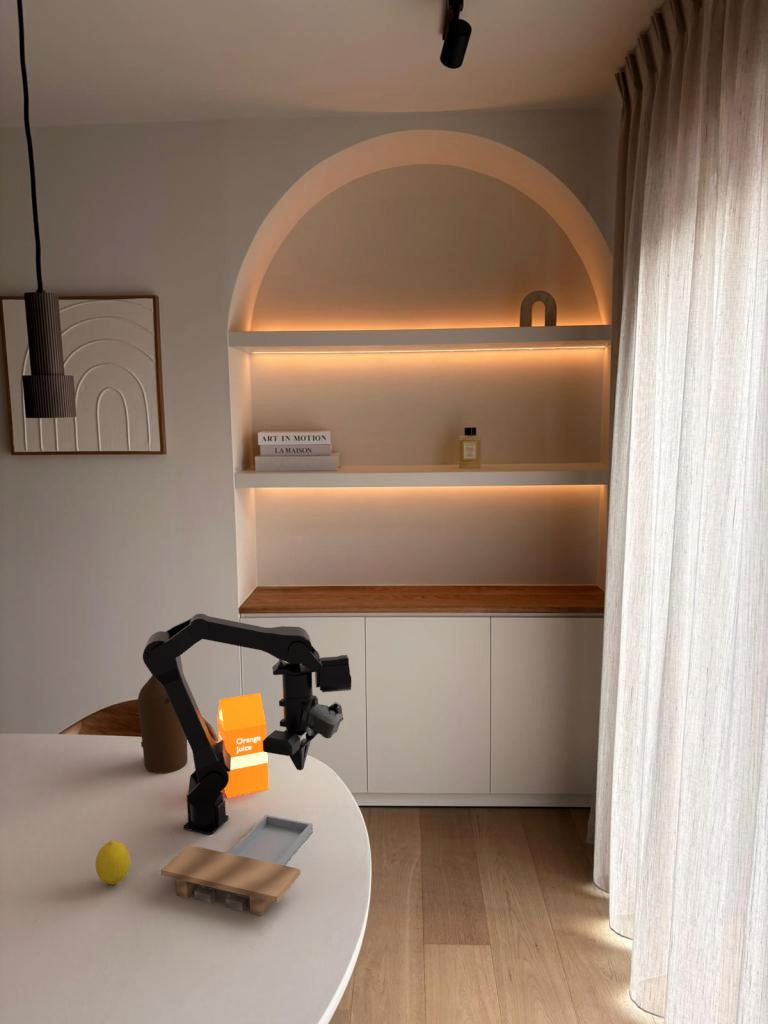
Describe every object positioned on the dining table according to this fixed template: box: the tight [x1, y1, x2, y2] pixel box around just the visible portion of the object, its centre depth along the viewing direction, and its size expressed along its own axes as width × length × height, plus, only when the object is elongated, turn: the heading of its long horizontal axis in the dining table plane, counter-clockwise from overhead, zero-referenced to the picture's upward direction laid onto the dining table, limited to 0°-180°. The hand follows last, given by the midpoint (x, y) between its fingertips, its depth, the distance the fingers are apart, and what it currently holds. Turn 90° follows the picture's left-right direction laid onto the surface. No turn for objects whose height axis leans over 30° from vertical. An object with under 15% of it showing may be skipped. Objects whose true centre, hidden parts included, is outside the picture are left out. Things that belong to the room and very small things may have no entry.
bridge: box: [160, 844, 301, 917], centre depth 136 cm, size 22×8×4 cm, turn 69°
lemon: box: [95, 840, 131, 886], centre depth 138 cm, size 6×6×8 cm
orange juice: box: [216, 692, 270, 798], centre depth 171 cm, size 8×9×20 cm
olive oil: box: [137, 674, 188, 774], centre depth 181 cm, size 11×11×25 cm
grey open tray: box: [228, 814, 314, 866], centre depth 149 cm, size 10×14×2 cm
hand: (300, 769), depth 159 cm, fingers closed
